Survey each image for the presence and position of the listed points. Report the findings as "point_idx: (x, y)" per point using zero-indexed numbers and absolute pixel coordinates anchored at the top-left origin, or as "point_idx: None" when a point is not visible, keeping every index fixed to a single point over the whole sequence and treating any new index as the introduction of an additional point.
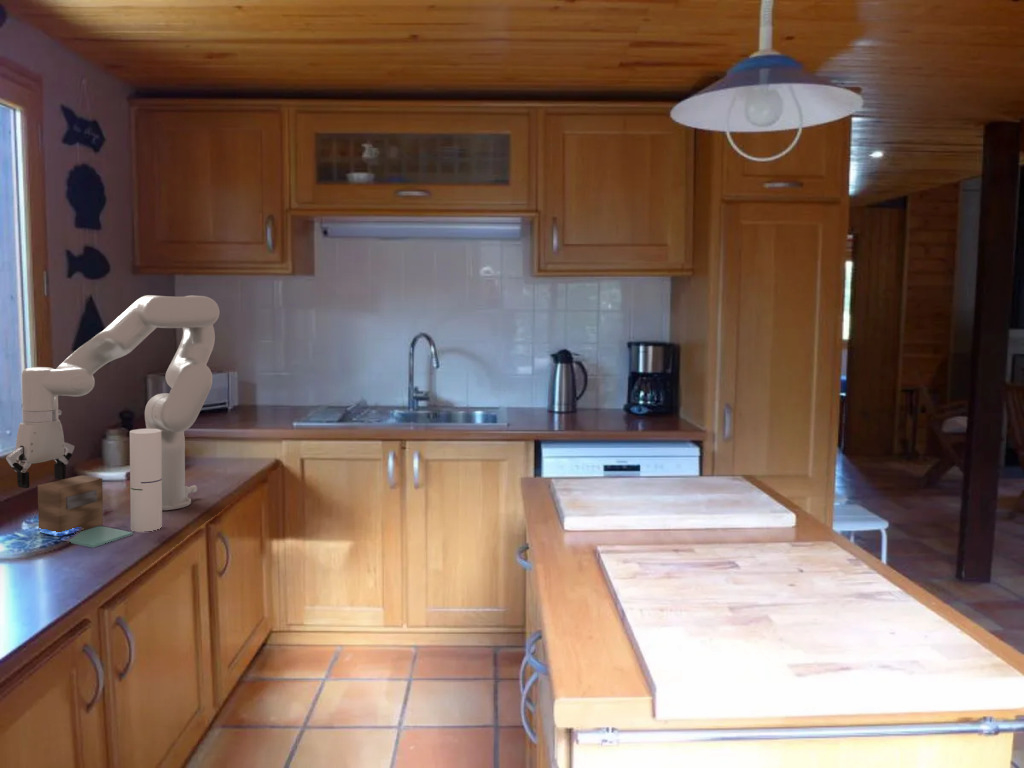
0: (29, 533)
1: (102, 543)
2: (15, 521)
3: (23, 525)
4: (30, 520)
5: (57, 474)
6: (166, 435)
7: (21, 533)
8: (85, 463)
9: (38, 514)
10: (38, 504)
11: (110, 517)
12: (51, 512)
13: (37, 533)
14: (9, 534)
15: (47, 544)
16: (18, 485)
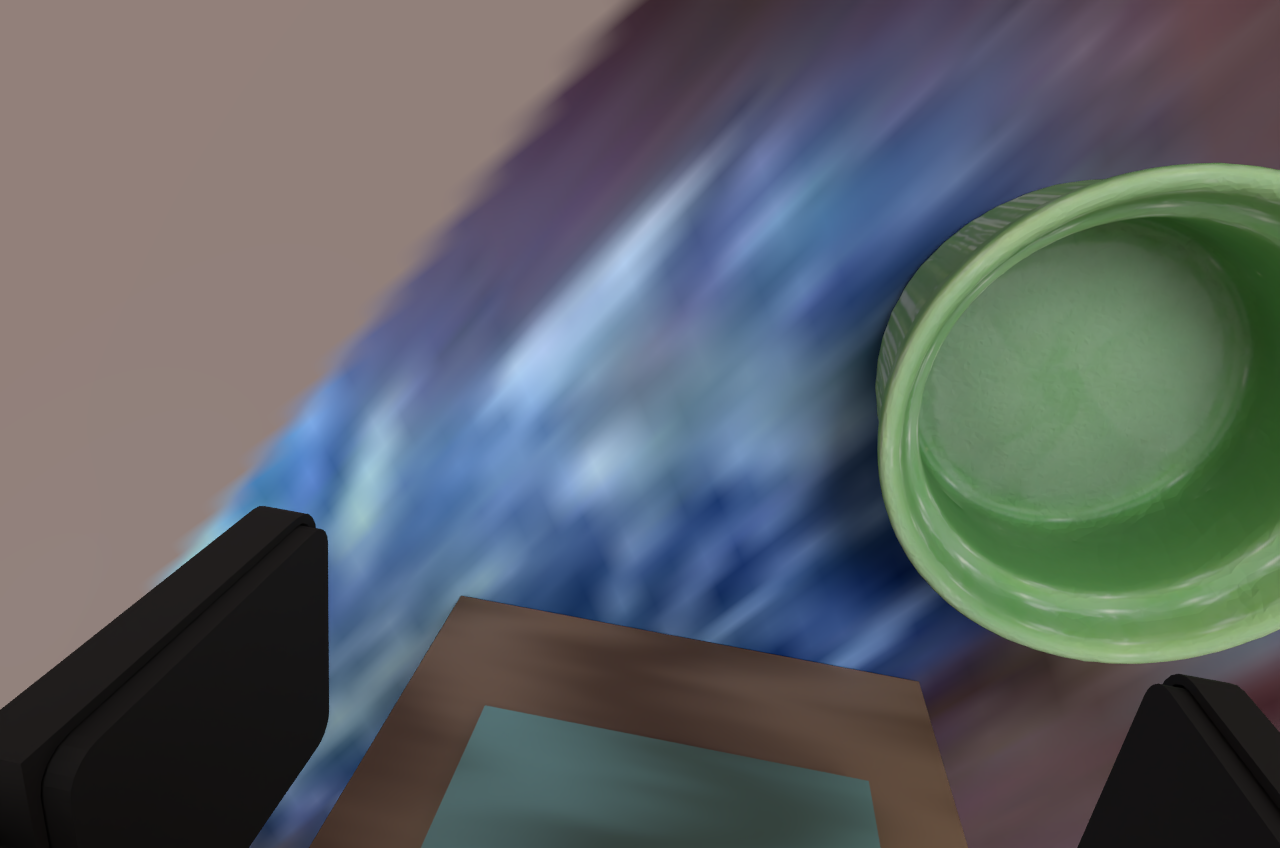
0: (422, 530)
1: None
2: (672, 65)
3: (585, 284)
4: (763, 198)
5: (1176, 842)
6: None
7: (391, 469)
8: None
9: (387, 718)
10: (331, 814)
11: (1086, 822)
12: None
13: (452, 589)
14: (322, 397)
15: (301, 818)
16: (253, 523)
